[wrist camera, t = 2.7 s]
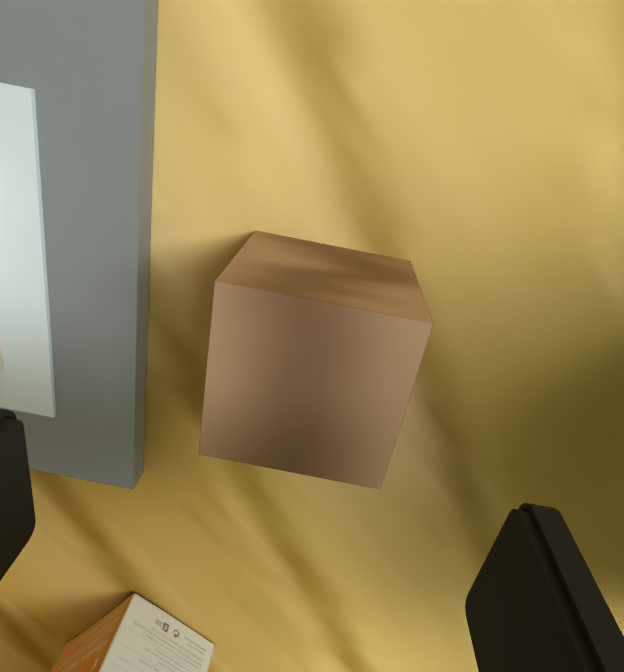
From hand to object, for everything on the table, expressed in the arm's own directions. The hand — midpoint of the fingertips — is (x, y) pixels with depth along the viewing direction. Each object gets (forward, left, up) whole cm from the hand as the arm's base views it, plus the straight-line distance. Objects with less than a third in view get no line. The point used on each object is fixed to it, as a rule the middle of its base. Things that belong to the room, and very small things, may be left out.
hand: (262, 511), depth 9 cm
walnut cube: (0, +1, -11) cm, 11 cm away
